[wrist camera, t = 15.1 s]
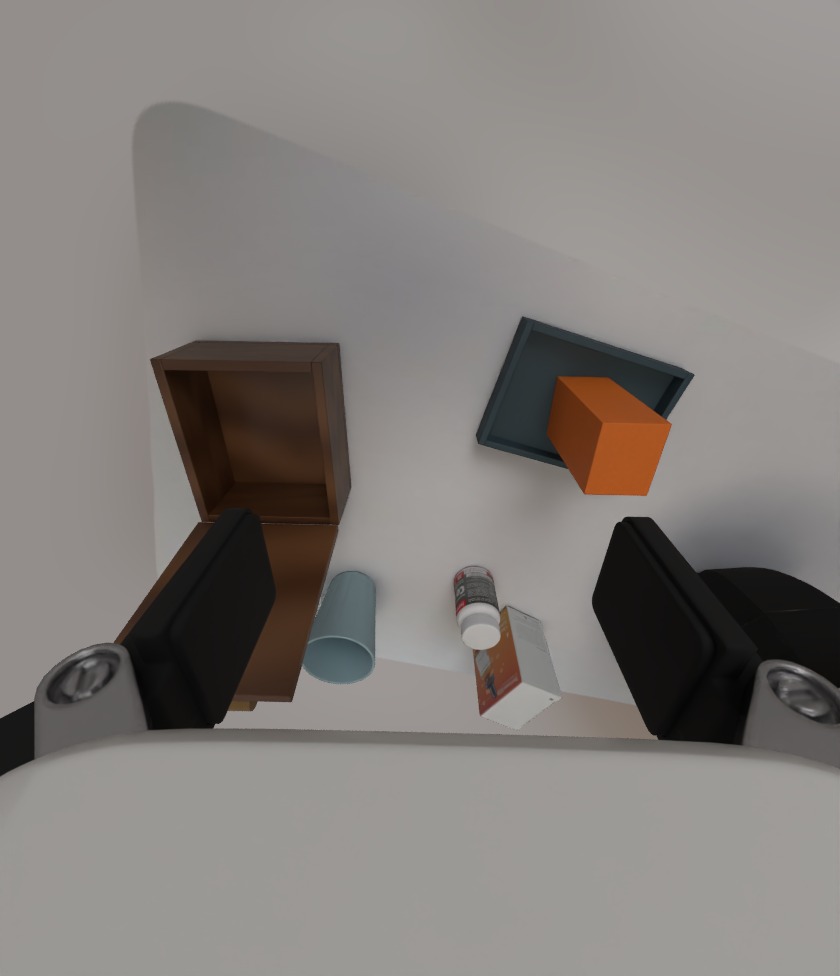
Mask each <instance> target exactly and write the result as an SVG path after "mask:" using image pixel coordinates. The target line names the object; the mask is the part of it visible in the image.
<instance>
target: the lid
mask: <svg viewBox="0 0 840 976" xmlns="http://www.w3.org/2000/svg"><path fill="white" fill-rule="evenodd" d="M213 524H214V523H208V522H199V523H198V524H197V525H196V527H195V528H194V529H193V531H192V532H191V534H190V535H189V537H188V538H187V539H186V541H185V542H184V544H183V545H182V546H181V548H180V549H179V551H178V552H177V554H176V555H175V556H174V558H173V559H172V561H171V562H170V563H169V565H168V566H167V568H166V569H165V571H164V572H163V573H162V575H161V576H160V578H159V579H158V580H157V582H156V583H155V585H154V586H153V588H152V589H151V590H150V592H149V593H148V595H147V596H146V597H145V599H144V600H143V602H142V603H141V604H140V606H139V607H138V609H137V610H136V612H135V613H134V615H133V616H132V617H131V619H130V620H129V621H128V623H127V624H126V626H125V627H124V629H123V630H122V631H121V633H120V634H119V636H118V637H117V638H116V640H115V641H114V643H116V644H121V642H122V641H123V640H124V638H125V637H126V636H127V634H128V633H129V632H130V631H131V629H132V628H133V627H134V625H135V624H136V623H137V622H138V620H139V619H140V618H141V616H142V615H143V614H144V613H145V611H146V610H147V609H148V607H149V606H150V605H151V604H152V602H153V601H154V600H155V598H156V597H157V596H158V594H159V593H160V592H161V591H162V589H163V588H164V587H165V585H166V584H167V583H168V582H169V580H170V579H171V578H172V576H173V575H174V574H175V573H176V571H177V570H178V569H179V567H180V566H181V565H182V564H183V563H184V561H185V560H186V559H187V557H188V556H189V555H190V554H191V552H192V551H193V550H194V548H195V547H196V546H197V545H198V543H199V542H200V541H201V539H202V538H203V537H204V536H205V534H206V533H207V532H208V530H209V529H210V528H211V526H212V525H213ZM261 526H262V530H263V534H264V539H265V543H266V547H267V552H268V556H269V561H270V565H271V569H272V574H273V578H274V582H275V587H276V598H275V602H274V605H273V607H272V609H271V612H270V614H269V616H268V618H267V621H266V623H265V625H264V628H263V630H262V632H261V635H260V637H259V639H258V642H257V644H256V646H255V648H254V651H253V653H252V655H251V658H250V660H249V662H248V665H247V667H246V669H245V672H244V674H243V676H242V679H241V681H240V683H239V685H238V688H237V690H236V692H235V695H234V697H233V699H232V702H231V704H230V706H229V709H228V711H253V710H254V708H255V707H256V704H257V701H266V702H267V701H269V702H292V700H293V696H294V692H295V689H296V685H297V681H298V677H299V674H300V670H301V667H302V663H303V659H304V656H305V652H306V648H307V645H308V641H309V637H310V634H311V630H312V626H313V623H314V619H315V615H316V612H317V608H318V604H319V601H320V597H321V593H322V590H323V586H324V582H325V579H326V575H327V571H328V568H329V564H330V560H331V557H332V553H333V549H334V546H335V542H336V538H337V535H338V531H339V530H338V526H337V525H298V524H261Z"/></svg>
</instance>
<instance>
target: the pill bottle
mask: <svg viewBox="0 0 840 976" xmlns="http://www.w3.org/2000/svg"><path fill="white" fill-rule="evenodd" d="M454 591H455V604H456V617H457V623H458V626H459V627H460V628H461V634H462V640H463V642H464V644H465V645H466V646H468V647H470V648H472V649H477V650H485V649H489V648H491V647H493V646H495V645H496V644H497V643H498V642H499V640H500V636H501V635H500V627H499V623H500V612H499V607H498V602H497V597H496V592H495V586H494V581H493V577H492V575H491V574H490V573H489V572H488V571H487V570H485V569H483V568H480V567H468V568H465V569H463V570H461V571H460V572H459V573H458V574H457V575H456V577H455V579H454Z"/></svg>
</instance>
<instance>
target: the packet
mask: <svg viewBox="0 0 840 976" xmlns="http://www.w3.org/2000/svg"><path fill="white" fill-rule="evenodd" d="M671 425H672V424H671V423H669V422H668V421H667V420H665V419H664V418H663V417H661V416H660V415H659V414H657V413H656V412H655V411H653V410H652V409H650V408H649V407H648V406H646V405H645V404H644V403H642V402H641V401H640V400H638V399H637V398H635V397H634V396H633V395H631V394H630V393H629V392H627V391H626V390H625V389H623V388H622V387H621V386H619V385H618V384H616V383H615V382H614V381H612V380H611V379H610V378H608V377H566V376H557V380H556V386H555V391H554V396H553V402H552V407H551V412H550V418H549V423H548V429H547V435H548V437H549V438H550V440H551V442H552V443H553V445H554V446H555V448H556V450H557V451H558V453H559V454H560V456H561V458H562V459H563V461H564V462H565V464H566V466H567V467H568V469H569V471H570V472H571V474H572V475H573V477H574V479H575V480H576V482H577V483H578V485H579V487H580V488H581V490H582V491H583V493H584V494H592V495H640V496H647V493H648V491H649V488H650V485H651V482H652V479H653V476H654V474H655V471H656V468H657V465H658V462H659V459H660V457H661V454H662V451H663V448H664V445H665V442H666V440H667V437H668V434H669V431H670V428H671Z"/></svg>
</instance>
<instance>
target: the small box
mask: <svg viewBox="0 0 840 976" xmlns="http://www.w3.org/2000/svg"><path fill="white" fill-rule="evenodd" d="M499 627H500V635H501V636H500V640H499V642H498V643H497V644H496V645H495V646H493V647H491V648H489V649H485V650H477V649H473V654H474V663H475V673H476V682H477V692H478V703H479V712H480V716H481V717H483V718H486V719H488V720H491V721H493V722H496V723H499V724H501V725H504V726H506V727H509V728H512V729H514V730H519V729H520V728H522V726H523V725H524V724H526V723H527V722H529V721H530V720H531V719H533V718H534V717H535V716H537V715H538V714H539V713H541V712H542V711H544V710H545V709H546V708H548V707H549V706H550V705H552V704H553V703H555V702H556V701H558V700H560V699H561V698H562V695H561V691H560V688H559V684H558V681H557V677H556V674H555V670H554V667H553V664H552V660H551V657H550V653H549V650H548V646H547V643H546V639H545V636H544V632H543V629H542V625H541V622H540V621H538V620H536V619H534V618H532V617H530V616H527V615H525V614H523V613H521V612H519V611H517V610H514V609H512V608H510V607H508V606H506V607H505V608H504V609H503V610H502V612H501V613H500V623H499Z"/></svg>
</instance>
